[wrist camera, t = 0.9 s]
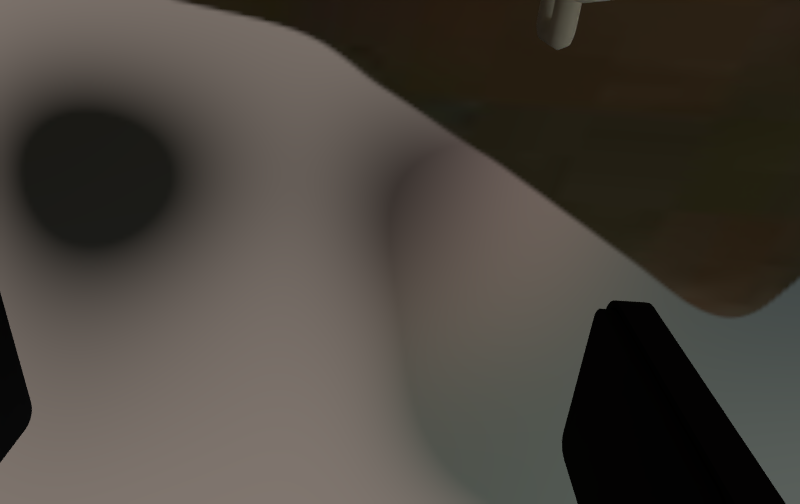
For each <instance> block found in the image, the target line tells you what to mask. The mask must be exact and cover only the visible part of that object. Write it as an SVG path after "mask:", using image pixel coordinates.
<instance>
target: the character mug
mask: <svg viewBox="0 0 800 504" xmlns="http://www.w3.org/2000/svg"><path fill="white" fill-rule="evenodd" d="M599 1H608V0H541V3H540V8H539V13H538V18H537V26H536V27H537V33H538V37H539V38H540V39H541V40H543V41H544V42H545V43H547V44H548V45H550V46H551V47H553V48H555V49H556V50H559V49H562V48H564V47H567V46H569V45H570V44H571V41H572V39H573V37H574V34H575V31H576V28H577V23H578V19H579V14H580V10H581V5H582V3H589V2H599Z"/></svg>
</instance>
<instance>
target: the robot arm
mask: <svg viewBox="0 0 800 504" xmlns="http://www.w3.org/2000/svg"><path fill="white" fill-rule="evenodd" d="M31 412H32V406H31V401H30V397H29V394H28V390H27V387H26V383H25V379H24V376H23V372H22V369H21V365H20V361H19V358H18V355H17V351H16V347H15V344H14V340H13V337H12V333H11V329H10V326H9V322H8V319H7V315H6V311H5V308H4V304H3V301H2V297H1V293H0V462H1V461H2V459H3V458H4V457H5V456H6V454H7V453H8V452H9V450H10V449H11V448H12V446H13V445H14V444H15V442H16V440H18V438H19V437H20V436H21V434H22V433H23V432H24V430H25V429H26V427H27V426H28V423H29V421H30V418H31ZM562 451H563V457H564V461H565V463H566V467H567V470H568V474H569V476H570V480H571V483H572V486H573V490H574V493H575V496H576V500H577V503H578V504H785V502H784V501H783V499H782V498H781V496H780V495H779V493H778V492H777V490H776V489H775V487H774V486H773V485H772V483H771V481H770V480H769V478H768V477H767V475H766V474H765V472H764V471H763V469H762V468H761V466H760V465H759V463H758V462H757V460H756V459H755V457H754V456H753V454H752V453H751V451H750V450H749V448H748V447H747V445H746V444H745V443H744V441H743V440H742V438H741V437H740V435H739V434H738V432H737V431H736V429H735V428H734V426H733V425H732V423H731V422H730V420H729V419H728V417H727V416H726V414H725V413H724V411H723V410H722V408H721V407H720V405H719V404H718V402H717V401H716V399H715V398H714V396H713V395H712V393H711V392H710V391H709V389H708V388H707V386H706V384H705V383H704V382H703V380H702V378H701V377H700V375H699V374H698V372H697V371H696V369H695V368H694V367H693V365H692V364H691V362H690V361H689V359H688V358H687V356H686V355H685V353H684V352H683V350H682V349H681V347H680V346H679V344H678V343H677V341H676V340H675V338H674V337H673V335H672V334H671V332H670V331H669V329H668V328H667V326H666V325H665V323H664V322H663V321H662V319H661V318H660V316H659V314H658V313H657V311H656V310H655V308H654V307H653V306H652V305H651V304H650V303H645V302H629V301H611V302H610V303H609V304H608V306H607V308H606V309H599V310H597V312H596V313H595V316H594V320H593V323H592V327H591V330H590V335H589V338H588V342H587V346H586V349H585V353H584V357H583V361H582V364H581V368H580V372H579V376H578V380H577V384H576V387H575V391H574V395H573V398H572V403H571V406H570V410H569V414H568V417H567V421H566V425H565V428H564V432H563V439H562Z"/></svg>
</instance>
